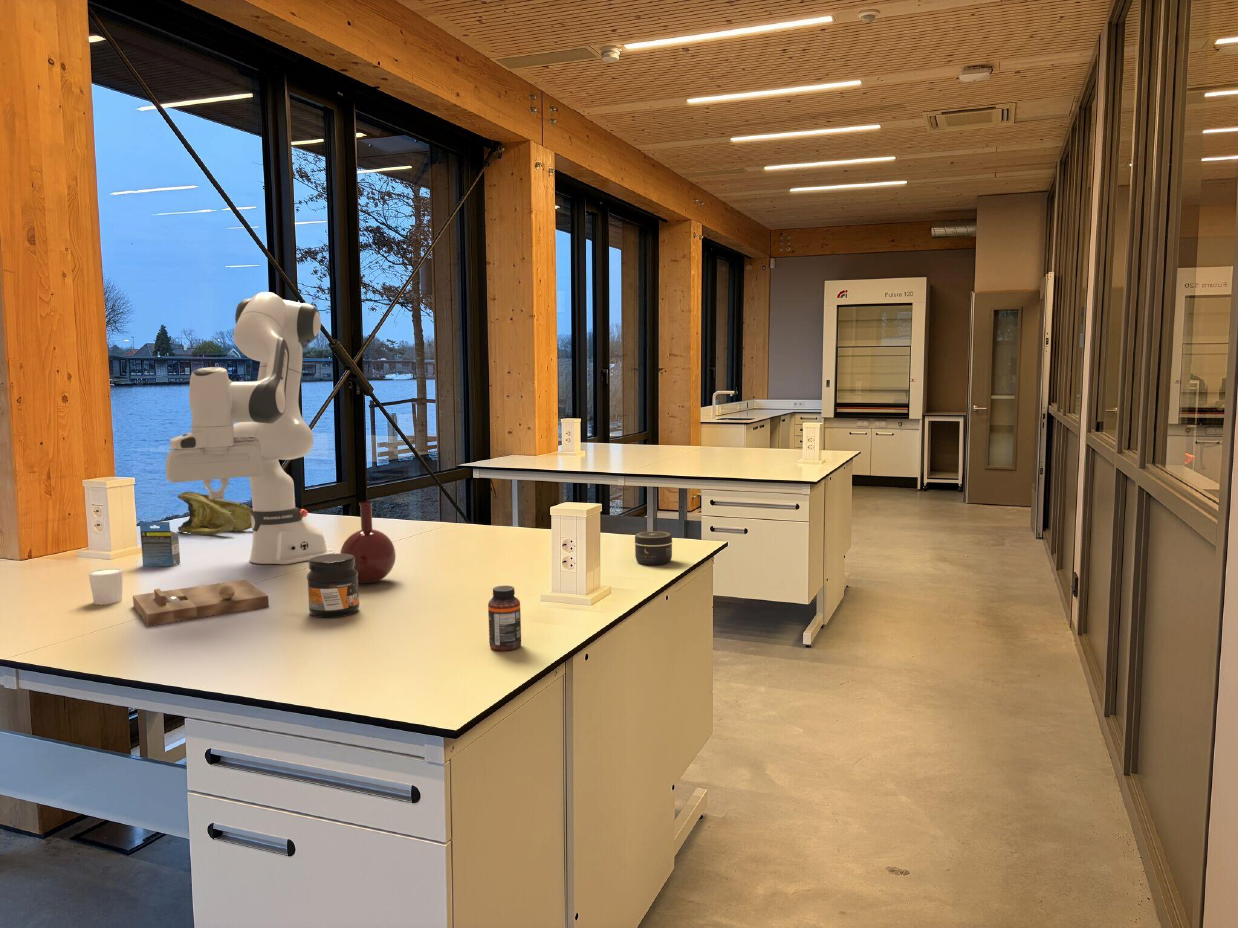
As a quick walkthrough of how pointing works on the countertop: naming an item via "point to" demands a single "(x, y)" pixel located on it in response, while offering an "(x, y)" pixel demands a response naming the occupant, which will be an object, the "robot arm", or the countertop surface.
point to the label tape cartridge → (159, 544)
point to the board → (198, 602)
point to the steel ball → (172, 599)
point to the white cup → (106, 586)
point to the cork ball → (226, 592)
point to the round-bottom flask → (370, 549)
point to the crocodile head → (214, 515)
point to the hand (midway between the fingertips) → (216, 498)
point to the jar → (653, 548)
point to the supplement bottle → (504, 619)
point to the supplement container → (333, 585)
